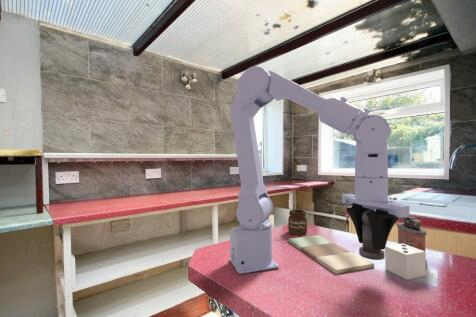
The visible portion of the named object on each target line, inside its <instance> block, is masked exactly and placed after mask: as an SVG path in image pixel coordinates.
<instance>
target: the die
mask: <svg viewBox="0 0 476 317" xmlns="http://www.w3.org/2000/svg"><path fill="white" fill-rule="evenodd" d="M425 251H426V250H425ZM425 251H423V250H420V249H417V248H414V247H411V246H409V245H406V244H403V243H402V244H398V243H397V244H390V245H386V246H385V249H384V260H385V263H384V264H385V267H384V268H385V269H384V270H386V271H389V272H390V273H392V274H394V275H397V276H399V277H400V278H402V279H404V280H407V281H408V280H413V279H418V278H421V277H422V278H423V277H426V276H427V275H426V272H427V270H426V269H427V268H426V266H427V265H426V262H425Z"/></svg>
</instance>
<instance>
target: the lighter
mask: <svg viewBox="0 0 476 317" xmlns="http://www.w3.org/2000/svg"><path fill="white" fill-rule="evenodd" d="M399 219H400V220H402V221H403V222H396V227H397V244H402V243H403V244H406V245H409V246H411V247H414V248H417V249H420V250H423V251H425V262H426V266H427V259H426V254H427V253H426V236H427V230H426V229H423V228H421V226H422V224H421V223H422V222H421V220H419V219H417V217H416V216H410V215H409V217H403V218H400V217H399Z"/></svg>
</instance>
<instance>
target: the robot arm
mask: <svg viewBox="0 0 476 317" xmlns="http://www.w3.org/2000/svg"><path fill="white" fill-rule="evenodd" d="M273 100H275V101H276V102H277V101H282V100H290V102H293V103H296V104H297V105H300V106H302V107H304V108H305V109H309V110H311V111H312V112H315V113H316V114H318V117H319V121H320V123H322V124H324V125H326V126H327V127H330V128H332V129H334V130H336V131H338V132H339V133H341V134H344V135H345V136H352V137H353V139H354V141H355V153H354V193H353V194H352V193H342V194H341V203H343V204H349V205H351V206H350V207H346V212H347V214H348V215H349V217H350V219H351V221H352V223H353V226H354V229H355V232H356V237H357V241H358V243H360V244H362V224H363V221H362V214H363V213H364V212H365V211H367V210H374V211H376V212H369V213H367V216H368V219H369V222H370V225H371V230H372V242H373V248H374V249H375V250H385V246H387V242H388V238H389V236H390V234H391V231H392V229H393V227H394V225H395V224H396V223H397V221H398V220H399V219H400V218H403V217H409V216H410V205H408V204H403V203H400V202H396V201H394V200H391V198H389V180H388V179H389V178H388V177H389V172H388V171H389V170H388V169H389V167H388V166H389V163H388V162H389V161H388V159H389V157H388V156H389V155H388V151H387V150H388V144H387V143H388V139H389V137H390V136H391V134H392V128H391V126H390V123H389V122H388V120H387V119H386V118H384V116H381V115H379V114H370V112H371V111H370V109H367V108H364V109H362V108H360V107H357V106H356V105H353V104H352V103H349V102H348V98H347V97H344V96H341V97H340V98H339V97H338V96H337V97H336V96H332V97H329V98H325V97H323V96H320V95H319V94H317V93H315V92H313V91H311V90H309V89H307V88H305V87H304V86H302V85H300V84H298V83H297V82H295V81H292V80H291V79H289V78H288V77H285V76H283V75H281V74H279V73H276V72H275V71H272V70H268V71H267V70H266V69H265V68H263V67H261V66H259V65H258V66H256V65H255V66H249V68H246V70H245V71H244V72H243V73H241V75H240V76H239V78H238V79H237V80H236V92H235V94H234V98H233V101H232V104H231V106H230V118H231V120H230V121H231V124H232V125H231V126H232V133H233V138H234V139H233V140H234V147H235V152H236V159H237V167H238V173H239V181H240V188H239V190H238V194H237V198H238V199H237V200H238V204H237V208H236V211H235V212H236V214H235V215H236V219H237V222H239V226H235V227H232V228H231V229H230V232H229V247H230V248H229V251H230V253H229V254H230V257H229V261H230V262H231V264H232V266H233V267H234V269H235V270H236V273H237V274H240V275H241V274H247V273H254V272H261V271H266V270H267V271H268V270H273V269H278V268H279V267H280V265H279V264H278V263H277V262H276V261H275V260H274V259H273V242H272V240H273V238H272V236H273V235H272V233H273V232H272V222H271V220H270V218H269V217H270V216H271V215H272V213H273V211H274V203H273V201H272V199H271V198H270V196H269V195H268V194H269V193H268V190H267V187H266V186H265V184H264V181H263V174H262V173H263V172H262V168H261V160H260V153H259V148H258V146H259V145H258V141H257V134H256V126H255V121H254V120H255V119H254V117H255V116H256V115H257V113H259V111H260V110H261V109H262V108H263V107H265V106H267V105H268V104H270V103H272V102H273Z"/></svg>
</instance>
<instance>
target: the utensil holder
mask: <svg viewBox="0 0 476 317" xmlns="http://www.w3.org/2000/svg"><path fill="white" fill-rule="evenodd" d="M308 197H309V196H308V195H306V197H305V201H304V205H303V209H296V208H297V207H296V203H294V204H293V203H292V201H291V198H289V199H288V201H290V203H291V205H294V208H293V206H290V204H288V208H289V212H288V215H289V216H288V219H287V228H288V233H289V234H291V235H295V236H302V235H303V236H304V235H306V234H307V233H308V220H307V218H308V217H306V215H307V214H306V211H305V209H306V205H307V202H308ZM292 200H293V201H295V199H293V198H292ZM291 207H292V208H291Z"/></svg>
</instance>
